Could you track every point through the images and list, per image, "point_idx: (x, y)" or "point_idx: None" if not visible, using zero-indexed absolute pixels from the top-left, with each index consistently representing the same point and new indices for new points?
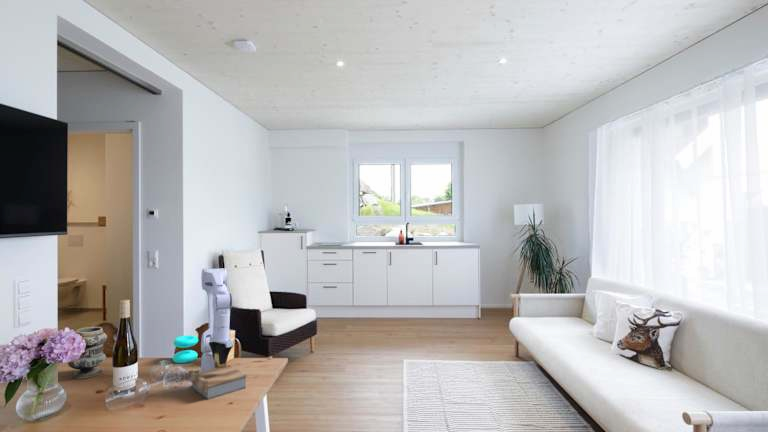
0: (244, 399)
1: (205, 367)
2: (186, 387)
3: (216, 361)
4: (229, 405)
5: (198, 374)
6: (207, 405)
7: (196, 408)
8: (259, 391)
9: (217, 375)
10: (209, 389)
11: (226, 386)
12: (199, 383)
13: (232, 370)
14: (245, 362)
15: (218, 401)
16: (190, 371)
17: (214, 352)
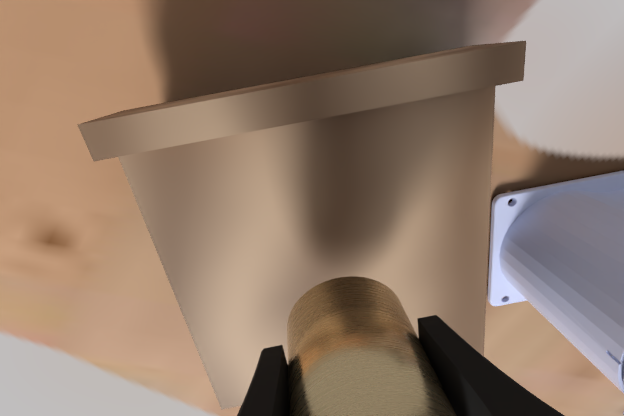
0: (76, 306)
1: (604, 216)
2: (465, 40)
3: (321, 340)
4: (15, 225)
5: (454, 131)
6: (63, 108)
7: (36, 26)
8: (154, 381)
9: (329, 259)
10: None
11: None
12: (225, 94)
13: None
14: (576, 399)
15: (104, 182)
16: (499, 54)
17: (478, 411)
